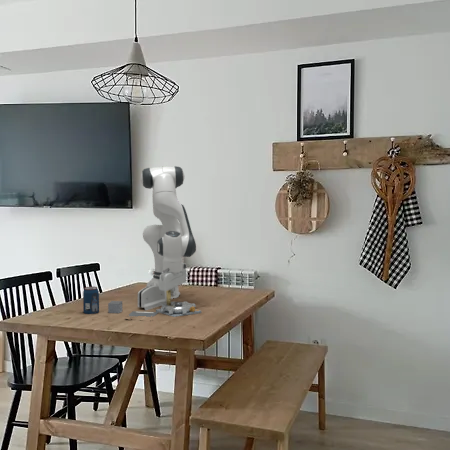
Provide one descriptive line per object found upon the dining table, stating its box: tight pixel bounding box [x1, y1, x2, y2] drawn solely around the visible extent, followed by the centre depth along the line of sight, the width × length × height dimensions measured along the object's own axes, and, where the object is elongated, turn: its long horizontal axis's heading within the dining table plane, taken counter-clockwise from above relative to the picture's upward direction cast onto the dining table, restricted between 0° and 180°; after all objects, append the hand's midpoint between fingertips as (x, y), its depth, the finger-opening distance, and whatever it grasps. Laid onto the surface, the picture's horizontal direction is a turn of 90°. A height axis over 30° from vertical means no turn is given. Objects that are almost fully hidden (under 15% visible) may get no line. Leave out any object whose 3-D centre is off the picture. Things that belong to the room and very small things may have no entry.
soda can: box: [82, 286, 100, 315], centre depth 234 cm, size 7×7×12 cm
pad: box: [128, 310, 159, 318], centre depth 230 cm, size 12×12×1 cm
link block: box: [107, 300, 123, 314], centre depth 236 cm, size 5×5×5 cm
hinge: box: [137, 286, 167, 312], centre depth 248 cm, size 17×5×10 cm, turn 147°
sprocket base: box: [155, 308, 202, 318], centre depth 237 cm, size 15×15×1 cm
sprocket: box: [160, 290, 196, 314], centre depth 237 cm, size 16×16×8 cm
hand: (172, 296), depth 240 cm, fingers closed, pressing on sprocket
